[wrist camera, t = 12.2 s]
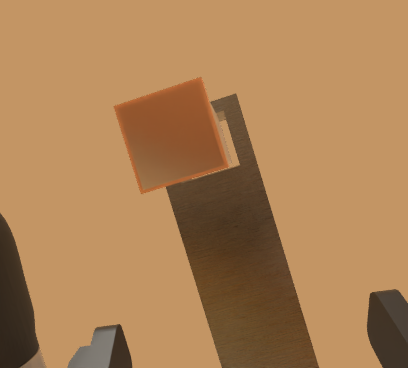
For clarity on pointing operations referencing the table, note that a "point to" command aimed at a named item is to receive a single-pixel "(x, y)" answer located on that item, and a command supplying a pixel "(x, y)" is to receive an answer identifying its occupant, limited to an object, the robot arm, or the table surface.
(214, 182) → the grey tall rectangular block
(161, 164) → the block
